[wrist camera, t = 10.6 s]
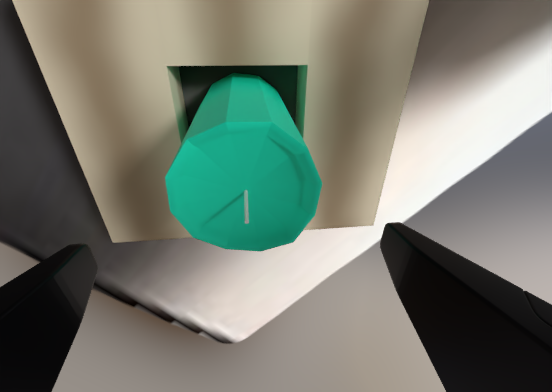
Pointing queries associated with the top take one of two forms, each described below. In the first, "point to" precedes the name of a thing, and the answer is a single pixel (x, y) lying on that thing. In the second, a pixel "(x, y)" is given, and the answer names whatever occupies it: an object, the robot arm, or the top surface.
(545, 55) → the top surface
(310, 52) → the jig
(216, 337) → the top surface
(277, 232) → the candle
